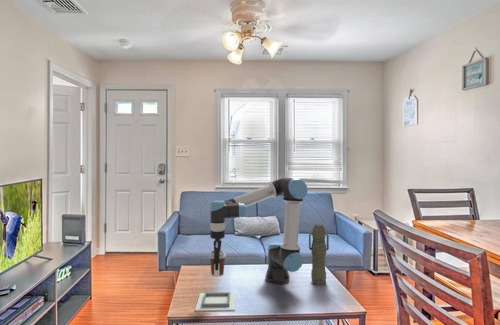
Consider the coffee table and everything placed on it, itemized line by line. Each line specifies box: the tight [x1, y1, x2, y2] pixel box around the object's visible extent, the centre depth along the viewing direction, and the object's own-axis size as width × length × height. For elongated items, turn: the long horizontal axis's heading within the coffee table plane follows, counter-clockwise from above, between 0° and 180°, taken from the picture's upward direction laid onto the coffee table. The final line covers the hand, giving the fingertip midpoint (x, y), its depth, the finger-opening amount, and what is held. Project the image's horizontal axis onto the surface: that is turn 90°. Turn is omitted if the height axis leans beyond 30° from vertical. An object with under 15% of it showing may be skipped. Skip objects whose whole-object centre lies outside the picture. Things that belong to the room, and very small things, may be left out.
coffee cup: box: [208, 250, 227, 278], centre depth 168 cm, size 9×9×12 cm
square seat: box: [194, 291, 237, 312], centre depth 168 cm, size 20×20×2 cm
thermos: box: [308, 224, 330, 286], centre depth 195 cm, size 9×12×35 cm
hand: (217, 272), depth 168 cm, fingers closed on coffee cup, 9 cm apart
